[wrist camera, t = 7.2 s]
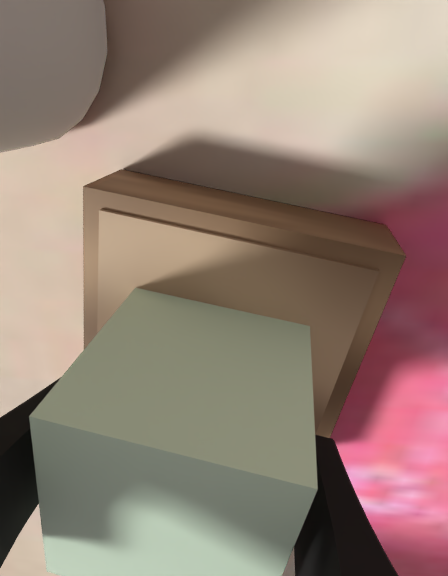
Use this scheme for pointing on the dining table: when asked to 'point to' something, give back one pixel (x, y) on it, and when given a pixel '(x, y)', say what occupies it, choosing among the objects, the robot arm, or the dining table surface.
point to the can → (48, 67)
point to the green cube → (178, 444)
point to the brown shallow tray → (242, 266)
